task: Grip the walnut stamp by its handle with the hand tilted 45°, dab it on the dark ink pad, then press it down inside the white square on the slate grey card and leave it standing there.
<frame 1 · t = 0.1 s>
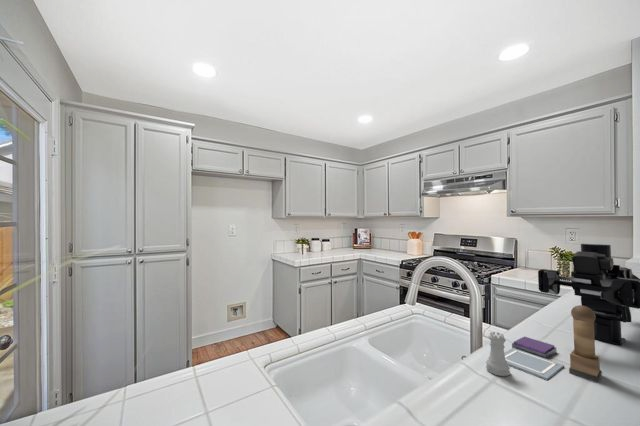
hand: (574, 290, 63), 17 cm above the countertop, tool horizontal, fingers open, 9 cm apart
rook chess piece: (497, 372, 58), on the countertop
stamp: (585, 374, 57), on the countertop
ink pad: (534, 350, 68), on the countertop
marked card: (528, 363, 62), on the countertop
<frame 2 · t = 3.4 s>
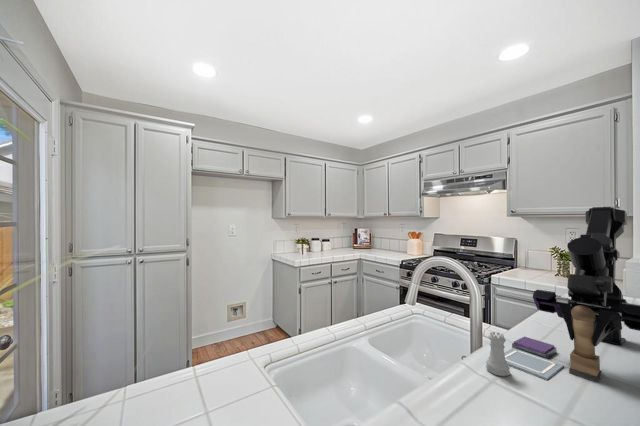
hand: (582, 342, 57), 7 cm above the countertop, tool tilted 45°, fingers closed on stamp, 3 cm apart
stamp: (585, 374, 57), on the countertop, touching gripper
everything else where it was.
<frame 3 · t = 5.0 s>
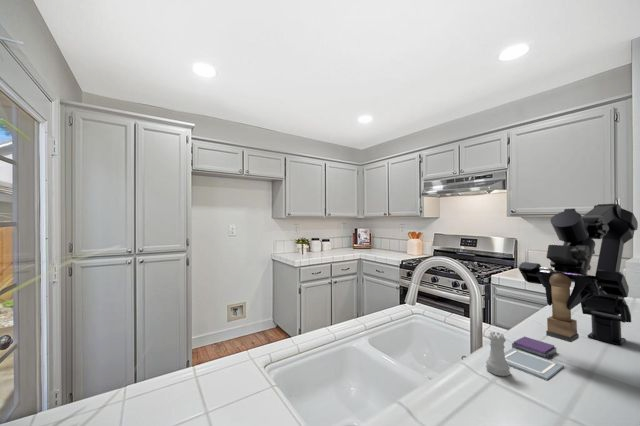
hand: (558, 306, 61), 13 cm above the countertop, tool tilted 45°, fingers closed on stamp, 3 cm apart
stamp: (562, 336, 62), point 6 cm above the countertop, touching gripper
everything else where it was.
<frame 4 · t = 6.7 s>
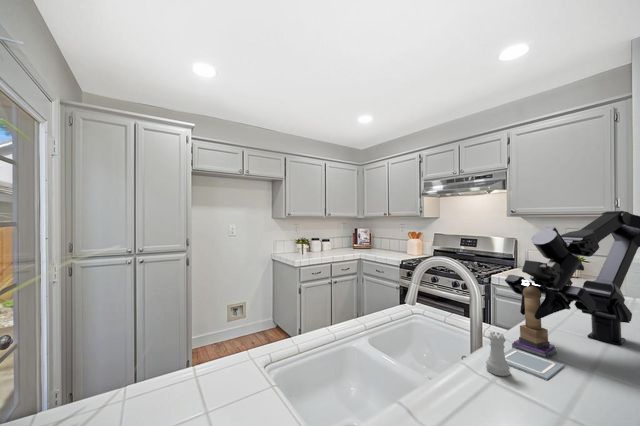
hand: (528, 315, 69), 9 cm above the countertop, tool tilted 45°, fingers closed on stamp, 3 cm apart
stamp: (534, 343, 69), point 2 cm above the countertop, touching gripper, ink pad
everything else where it was.
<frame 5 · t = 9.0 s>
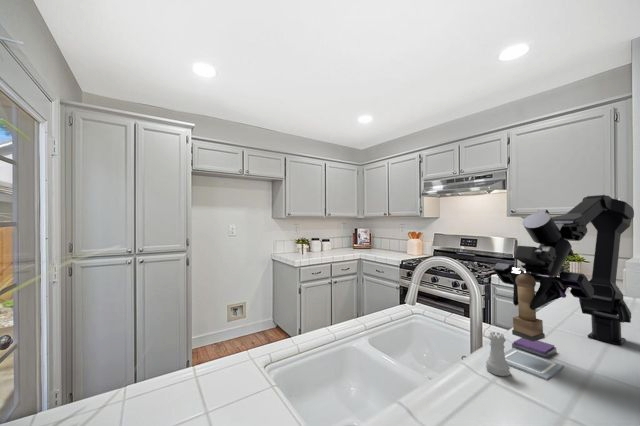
hand: (522, 306, 62), 13 cm above the countertop, tool tilted 45°, fingers closed on stamp, 3 cm apart
stamp: (528, 336, 62), point 6 cm above the countertop, touching gripper
everything else where it was.
when the fingers open (7 cm above the countertop, at t = 10.4 s): stamp stays where it is, resting on marked card.
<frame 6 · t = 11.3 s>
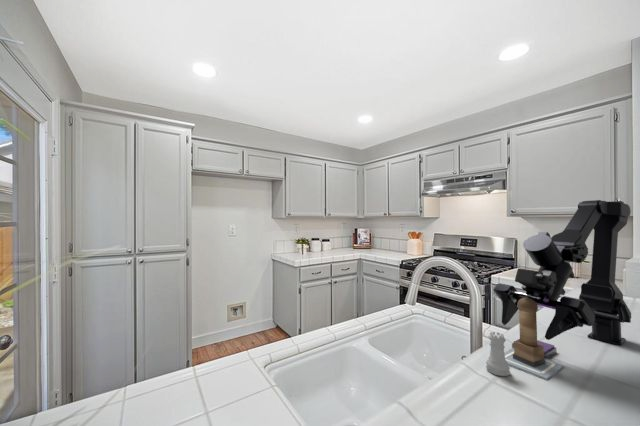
hand: (523, 330, 62), 8 cm above the countertop, tool tilted 45°, fingers open, 9 cm apart
stamp: (529, 361, 62), resting on marked card
everything else where it was.
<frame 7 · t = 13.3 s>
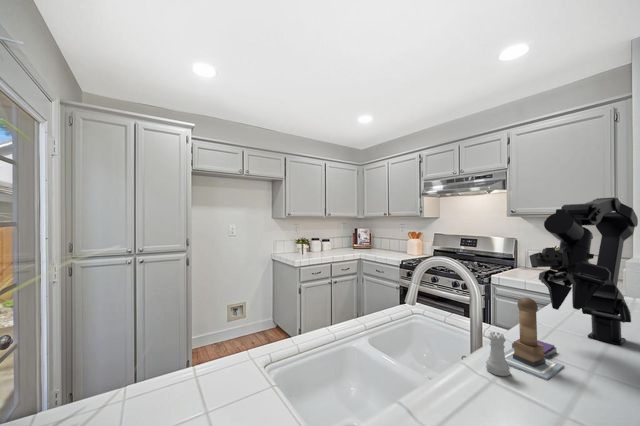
hand: (564, 309, 65), 12 cm above the countertop, tool tilted 25°, fingers open, 9 cm apart
nothing on the countertop moved.
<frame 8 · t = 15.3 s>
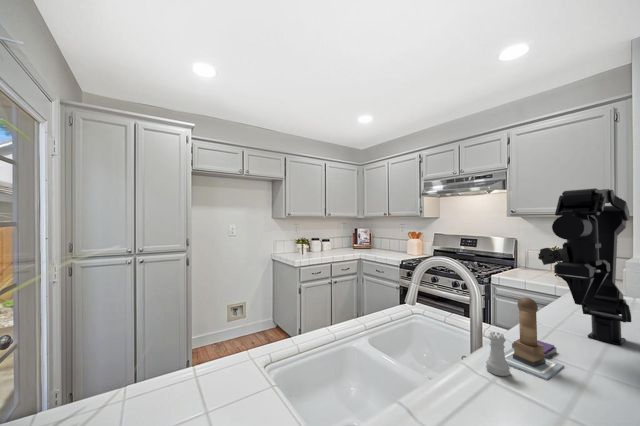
hand: (584, 301, 67), 13 cm above the countertop, tool pointing down, fingers open, 9 cm apart
nothing on the countertop moved.
at the end: stamp 0.3 cm off-centre on the marked card, point 0.4 cm above the marked card's base; stamp tilted 0°; the gripper is holding nothing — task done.
